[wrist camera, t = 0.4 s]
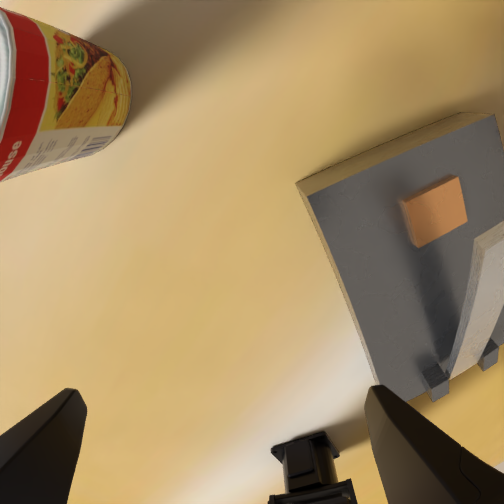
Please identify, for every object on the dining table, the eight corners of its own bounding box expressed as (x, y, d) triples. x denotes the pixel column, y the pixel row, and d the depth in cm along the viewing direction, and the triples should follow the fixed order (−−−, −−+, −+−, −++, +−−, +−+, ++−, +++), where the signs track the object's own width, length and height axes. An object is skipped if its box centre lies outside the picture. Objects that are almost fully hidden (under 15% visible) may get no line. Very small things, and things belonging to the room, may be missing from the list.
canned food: (103, 27, 15) (-10, -31, 4) (153, 113, 18) (42, 106, 7) (24, 96, 17) (-100, 103, 5) (66, 179, 19) (-58, 236, 8)
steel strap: (473, 355, 20) (477, 362, 20) (444, 372, 21) (448, 380, 20) (517, 211, 10) (528, 222, 10) (474, 239, 11) (485, 251, 10)
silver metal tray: (491, 314, 25) (524, 347, 19) (374, 380, 27) (394, 427, 21) (460, 112, 18) (514, 115, 12) (295, 183, 20) (314, 205, 14)
